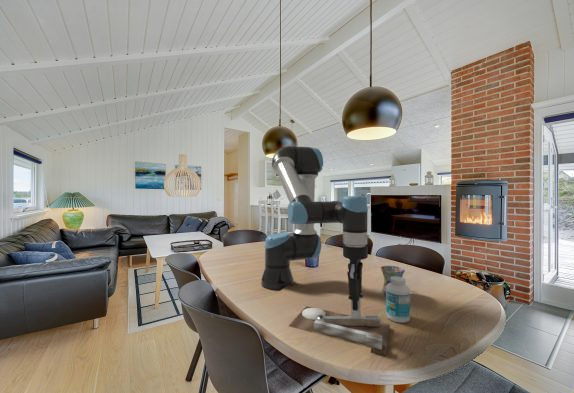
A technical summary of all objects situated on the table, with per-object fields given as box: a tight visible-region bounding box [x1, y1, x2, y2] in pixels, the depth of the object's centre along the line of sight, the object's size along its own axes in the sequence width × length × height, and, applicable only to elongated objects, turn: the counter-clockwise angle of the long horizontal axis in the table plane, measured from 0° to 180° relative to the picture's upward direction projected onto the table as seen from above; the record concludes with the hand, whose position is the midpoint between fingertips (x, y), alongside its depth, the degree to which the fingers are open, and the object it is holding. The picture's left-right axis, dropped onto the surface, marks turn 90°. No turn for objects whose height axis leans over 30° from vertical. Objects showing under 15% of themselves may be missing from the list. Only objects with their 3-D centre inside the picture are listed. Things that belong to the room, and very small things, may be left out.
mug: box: [380, 265, 405, 295], centre depth 104 cm, size 12×9×11 cm
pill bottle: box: [385, 276, 411, 324], centre depth 82 cm, size 8×7×14 cm
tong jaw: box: [317, 314, 381, 326], centre depth 75 cm, size 19×3×3 cm, turn 90°
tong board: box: [288, 305, 391, 357], centre depth 75 cm, size 28×15×4 cm, turn 63°
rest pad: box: [301, 307, 326, 320], centre depth 82 cm, size 8×8×1 cm
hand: (355, 318), depth 77 cm, fingers closed
